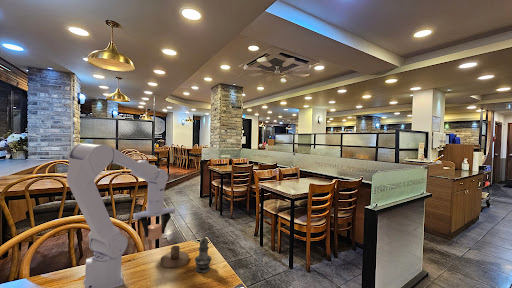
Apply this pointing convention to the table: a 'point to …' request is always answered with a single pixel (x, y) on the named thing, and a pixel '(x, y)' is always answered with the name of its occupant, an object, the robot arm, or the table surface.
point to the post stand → (174, 258)
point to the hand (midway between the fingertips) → (154, 234)
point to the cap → (154, 231)
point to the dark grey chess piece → (203, 257)
